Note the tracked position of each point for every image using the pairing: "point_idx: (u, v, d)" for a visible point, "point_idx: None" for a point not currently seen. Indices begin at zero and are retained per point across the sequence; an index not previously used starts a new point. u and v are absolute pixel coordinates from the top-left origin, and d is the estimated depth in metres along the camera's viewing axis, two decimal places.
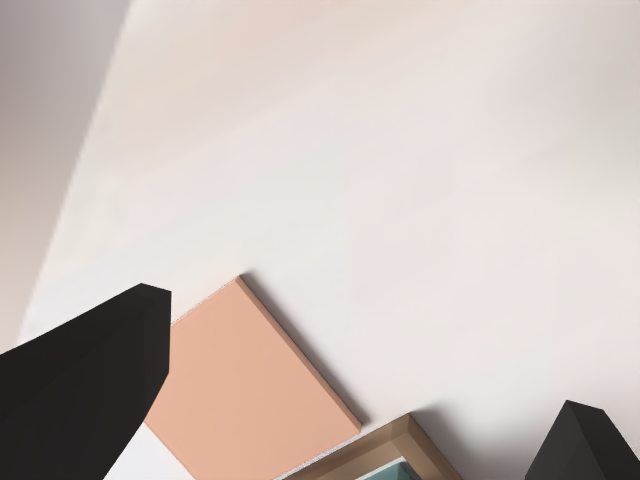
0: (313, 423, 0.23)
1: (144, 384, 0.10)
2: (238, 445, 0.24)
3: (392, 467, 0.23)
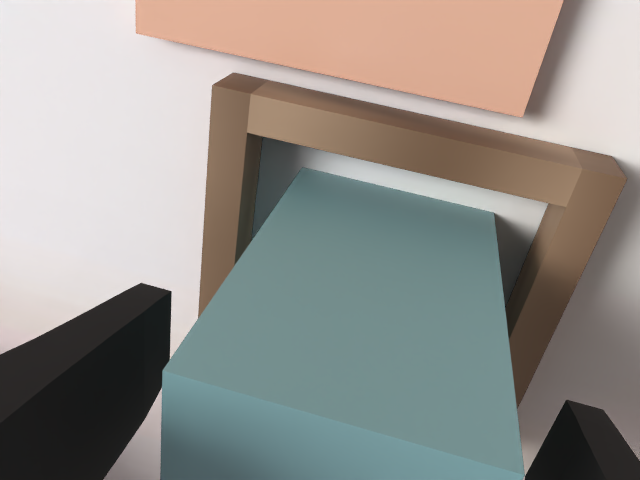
0: (469, 30, 0.10)
1: (144, 384, 0.10)
2: None
3: (479, 211, 0.12)
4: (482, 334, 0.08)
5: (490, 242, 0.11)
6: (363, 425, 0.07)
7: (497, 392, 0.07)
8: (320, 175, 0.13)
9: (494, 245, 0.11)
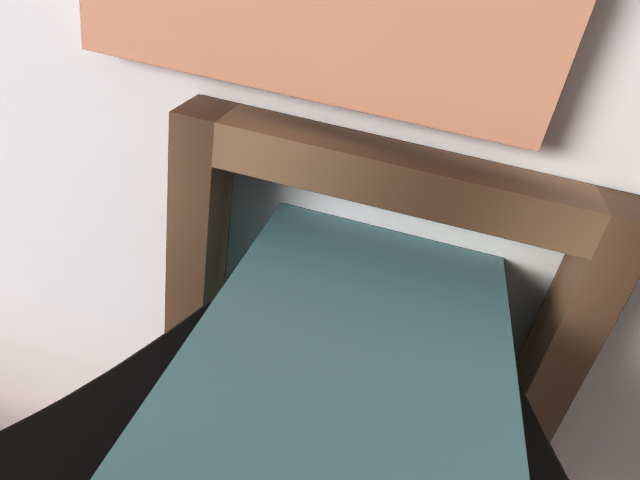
0: (475, 48, 0.08)
1: None
2: None
3: (486, 257, 0.10)
4: (492, 439, 0.07)
5: (499, 300, 0.09)
6: None
7: None
8: (301, 213, 0.11)
9: (504, 303, 0.09)
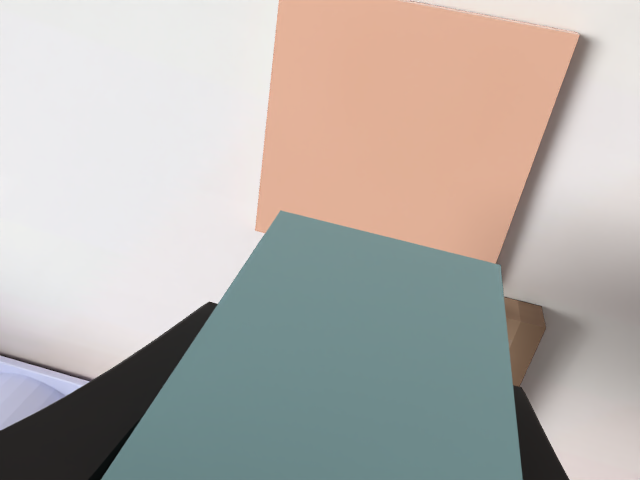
0: (455, 243, 0.18)
1: None
2: (351, 195, 0.18)
3: (484, 264, 0.11)
4: (487, 447, 0.07)
5: (496, 307, 0.09)
6: None
7: None
8: (301, 220, 0.11)
9: (502, 310, 0.09)
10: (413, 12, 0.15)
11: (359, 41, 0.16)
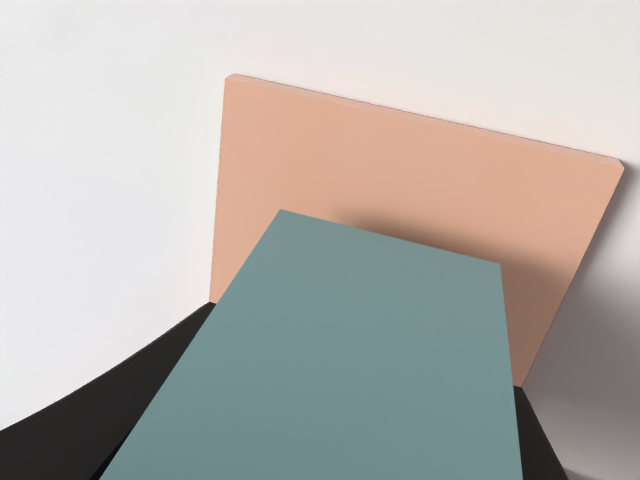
0: None
1: None
2: None
3: (484, 263, 0.11)
4: (487, 446, 0.07)
5: (496, 306, 0.09)
6: None
7: None
8: (300, 219, 0.11)
9: (500, 309, 0.09)
10: (400, 128, 0.11)
11: (328, 159, 0.12)
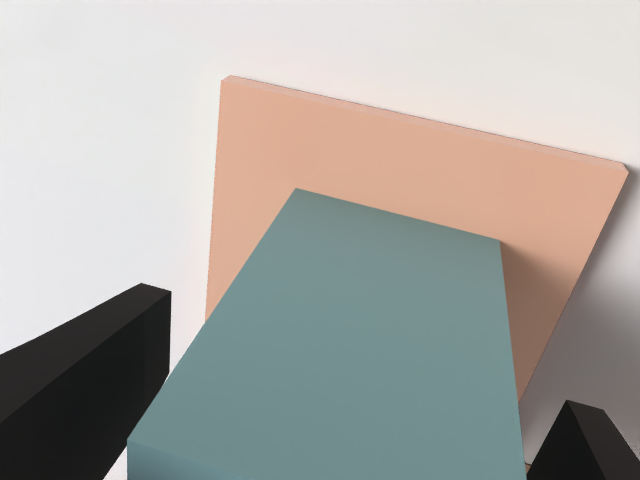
0: None
1: (144, 384, 0.10)
2: None
3: (484, 238, 0.11)
4: (488, 388, 0.08)
5: (495, 275, 0.10)
6: None
7: (505, 461, 0.07)
8: (314, 197, 0.12)
9: (500, 278, 0.10)
10: (399, 131, 0.11)
11: (327, 163, 0.12)
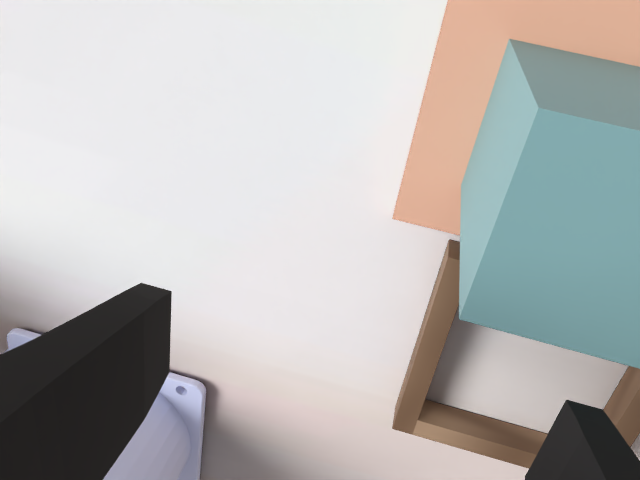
0: None
1: (144, 384, 0.10)
2: None
3: None
4: None
5: None
6: None
7: None
8: (528, 43, 0.15)
9: None
10: None
11: (540, 15, 0.15)
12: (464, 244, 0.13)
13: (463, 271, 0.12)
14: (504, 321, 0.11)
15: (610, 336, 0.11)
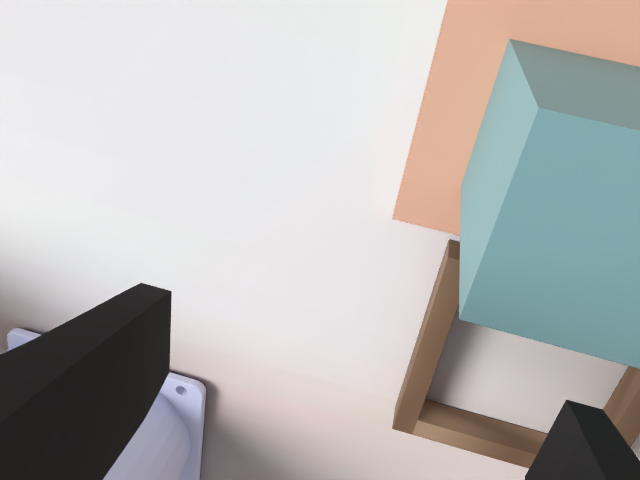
0: None
1: (144, 384, 0.10)
2: None
3: None
4: None
5: None
6: None
7: None
8: (528, 43, 0.15)
9: None
10: None
11: (540, 15, 0.15)
12: (464, 244, 0.13)
13: (463, 271, 0.12)
14: (504, 321, 0.11)
15: (610, 336, 0.11)
